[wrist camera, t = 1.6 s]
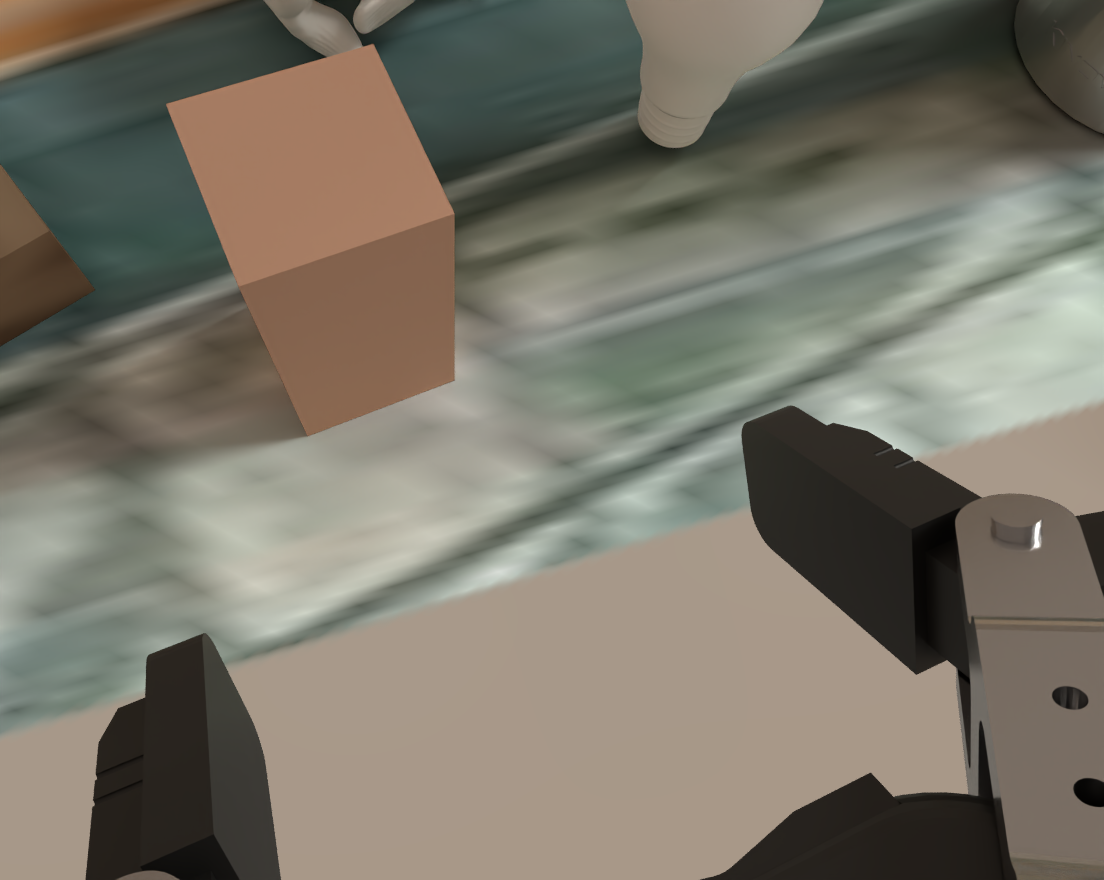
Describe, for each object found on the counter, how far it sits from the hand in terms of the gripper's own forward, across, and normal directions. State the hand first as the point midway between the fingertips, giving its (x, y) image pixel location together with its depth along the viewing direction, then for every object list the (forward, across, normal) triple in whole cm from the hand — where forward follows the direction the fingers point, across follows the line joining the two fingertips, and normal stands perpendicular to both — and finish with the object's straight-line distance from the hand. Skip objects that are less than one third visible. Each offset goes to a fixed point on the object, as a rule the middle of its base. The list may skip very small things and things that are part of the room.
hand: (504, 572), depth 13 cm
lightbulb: (+22, -14, 0) cm, 26 cm away
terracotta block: (+19, 0, +2) cm, 19 cm away
